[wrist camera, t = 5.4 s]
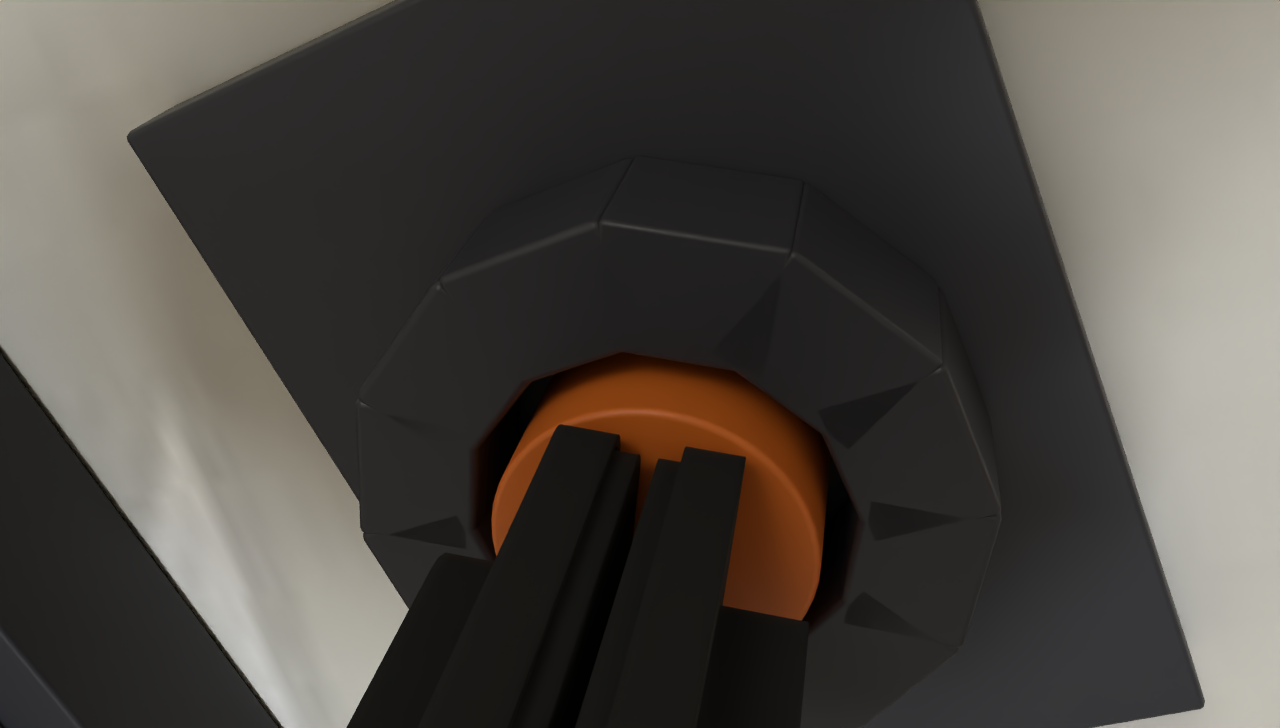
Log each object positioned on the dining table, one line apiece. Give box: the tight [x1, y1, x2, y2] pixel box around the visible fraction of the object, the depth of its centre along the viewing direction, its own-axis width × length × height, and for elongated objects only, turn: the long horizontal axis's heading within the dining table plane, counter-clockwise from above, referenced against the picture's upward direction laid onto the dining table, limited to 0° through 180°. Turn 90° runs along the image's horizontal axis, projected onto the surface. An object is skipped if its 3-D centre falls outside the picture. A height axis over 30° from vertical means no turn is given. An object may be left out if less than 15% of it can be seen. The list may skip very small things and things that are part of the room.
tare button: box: [491, 352, 830, 620], centre depth 11 cm, size 3×3×2 cm
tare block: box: [127, 0, 1205, 728], centre depth 12 cm, size 10×8×2 cm
